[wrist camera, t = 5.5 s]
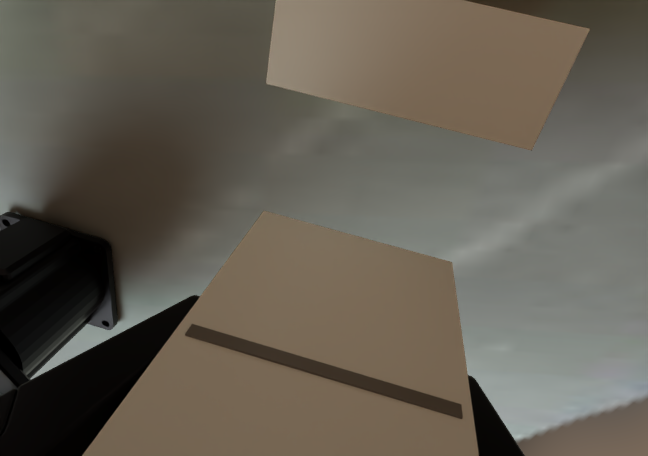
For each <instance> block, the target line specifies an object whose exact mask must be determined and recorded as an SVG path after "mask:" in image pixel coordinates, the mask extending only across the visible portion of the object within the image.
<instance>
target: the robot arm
mask: <svg viewBox="0 0 648 456" xmlns="http://www.w3.org/2000/svg"><path fill="white" fill-rule="evenodd" d="M0 230H1V231H0V456H82V455H83V454H84V452H85V451H86V450H87V448H88V447H89V446H90V444H91V443H92V442H93V440H94V439H95V438H96V436H97V435H98V434H99V432H100V431H101V430H102V428H103V427H104V425H105V424H106V423H107V421H108V420H109V419H110V417H111V416H112V415H113V413H114V412H115V411H116V409H117V408H118V407H119V405H120V404H121V403H122V401H123V400H124V399H125V397H126V396H127V394H128V393H129V392H130V390H131V389H132V388H133V386H134V385H135V384H136V382H137V381H138V380H139V378H140V377H141V376H142V374H143V373H144V372H145V370H146V369H147V368H148V366H149V365H150V363H151V362H152V361H153V359H154V358H155V357H156V355H157V354H158V353H159V351H160V350H161V349H162V347H163V346H164V345H165V343H166V342H167V341H168V339H169V338H170V337H171V335H172V334H173V332H174V331H175V330H176V328H177V327H178V326H179V324H180V323H181V322H182V320H183V319H184V318H185V316H186V315H187V314H188V312H189V311H190V310H191V308H192V307H193V306H194V304H195V303H196V302H197V300H198V299H199V297H200V296H197V295H194V296H191V297H189V298H187V299H185V300H183V301H181V302H179V303H177V304H175V305H173V306H171V307H169V308H168V309H166V310H164V311H162V312H160V313H158V314H156V315H154V316H152V317H150V318H148V319H146V320H145V321H143V322H141V323H139V324H137V325H135V326H133V327H131V328H129V329H127V330H125V331H124V332H122V333H120V334H118V335H116V336H114V337H112V338H110V339H108V340H106V341H104V342H102V343H101V344H99V345H97V346H95V347H93V348H91V349H89V350H87V351H85V352H83V353H81V354H80V355H78V356H76V357H74V358H72V359H70V360H68V361H66V362H64V363H62V364H60V365H58V366H57V367H55V368H53V369H51V370H49V371H47V372H45V373H43V374H41V375H39V376H37V377H36V378H34V379H32V380H30V378H31V377H32V376H33V375H34V374H35V373H36V372H37V371H38V370H40V369H41V368H42V367H43V366H44V365H45V364H46V363H47V362H48V361H49V360H50V359H51V358H52V357H53V356H54V355H55V354H56V353H57V352H58V351H59V350H60V349H61V348H62V347H63V346H64V345H65V344H66V343H68V342H69V341H70V340H71V339H72V338H73V337H74V336H75V335H76V334H77V333H78V332H79V331H80V330H81V329H82V328H83V327H84V326H85V325H86V324H90V325H94V326H97V327H100V328H103V329H107V330H111V329H112V328H113V327H114V326H115V325H116V324H117V311H116V299H115V287H114V275H113V264H112V252H111V246H110V245H109V243H108V242H107V241H106V240H103V239H101V238H97V237H94V236H91V235H87V234H84V233H80V232H77V231H73V230H70V229H67V228H63V227H60V226H56V225H53V224H49V223H46V222H43V221H39V220H36V219H32V218H29V217H25V216H22V215H19V214H15V213H12V212H6V213H4V214H2V215H0ZM100 248H101V249H100ZM468 381H469V388H470V395H471V403H472V410H473V417H474V424H475V431H476V438H477V445H478V453H479V456H525V455H524V454H523V452H522V451H521V449H520V448H519V446H518V445H517V443H516V441H515V440H514V438H513V437H512V435H511V434H510V432H509V431H508V429H507V428H506V426H505V424H504V423H503V421H502V420H501V418H500V417H499V415H498V414H497V412H496V411H495V409H494V407H493V406H492V404H491V403H490V401H489V400H488V398H487V397H486V395H485V394H484V392H483V391H482V389H481V387H480V386H479V384H478V383H477V381H476V380H475V379H474V378H473V377H472V376H469V375H468Z"/></svg>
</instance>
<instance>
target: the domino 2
mask: <svg viewBox="0 0 648 456" xmlns="http://www.w3.org/2000/svg"><path fill="white" fill-rule="evenodd" d="M82 456H479V453H478V445H477V438H476V431H475V424H474V417H473V410H472V403H471V395H470V388H469V381H468V374H467V367H466V360H465V352H464V345H463V338H462V331H461V324H460V317H459V309H458V302H457V295H456V288H455V281H454V274H453V266H452V262H449V261H446V260H442V259H438V258H435V257H431V256H427V255H424V254H420V253H416V252H413V251H409V250H406V249H402V248H398V247H395V246H391V245H387V244H384V243H380V242H376V241H373V240H369V239H365V238H362V237H358V236H354V235H351V234H347V233H343V232H340V231H336V230H333V229H329V228H325V227H322V226H318V225H314V224H311V223H307V222H303V221H300V220H296V219H292V218H289V217H285V216H281V215H278V214H274V213H270V212H267V211H263V213H262V214H261V215H260V217H259V218H258V219H257V221H256V222H255V223H254V225H253V226H252V227H251V229H250V230H249V231H248V233H247V234H246V235H245V237H244V238H243V240H242V241H241V242H240V244H239V245H238V246H237V248H236V249H235V250H234V252H233V253H232V254H231V256H230V257H229V258H228V260H227V261H226V262H225V264H224V265H223V266H222V268H221V269H220V271H219V272H218V273H217V275H216V276H215V277H214V279H213V280H212V281H211V283H210V284H209V285H208V287H207V288H206V289H205V291H204V292H203V293H202V295H201V296H200V297H199V299H198V300H197V302H196V303H195V304H194V306H193V307H192V308H191V310H190V311H189V312H188V314H187V315H186V316H185V318H184V319H183V320H182V322H181V323H180V324H179V326H178V327H177V328H176V330H175V331H174V332H173V334H172V335H171V337H170V338H169V339H168V341H167V342H166V343H165V345H164V346H163V347H162V349H161V350H160V351H159V353H158V354H157V355H156V357H155V358H154V359H153V361H152V362H151V363H150V365H149V366H148V368H147V369H146V370H145V372H144V373H143V374H142V376H141V377H140V378H139V380H138V381H137V382H136V384H135V385H134V386H133V388H132V389H131V390H130V392H129V393H128V394H127V396H126V397H125V399H124V400H123V401H122V403H121V404H120V405H119V407H118V408H117V409H116V411H115V412H114V413H113V415H112V416H111V417H110V419H109V420H108V421H107V423H106V424H105V425H104V427H103V428H102V430H101V431H100V432H99V434H98V435H97V436H96V438H95V439H94V440H93V442H92V443H91V444H90V446H89V447H88V448H87V450H86V451H85V452H84V454H83V455H82Z"/></svg>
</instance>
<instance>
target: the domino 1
mask: <svg viewBox="0 0 648 456" xmlns="http://www.w3.org/2000/svg"><path fill="white" fill-rule="evenodd" d="M589 30H590V29H588V28H584V27H579V26H575V25H570V24H566V23H562V22H557V21H553V20H548V19H544V18H540V17H535V16H531V15H526V14H522V13H518V12H513V11H509V10H504V9H500V8H496V7H491V6H487V5H482V4H478V3H474V2H469V1H465V0H276V4H275V12H274V20H273V29H272V37H271V46H270V54H269V62H268V71H267V79H266V84H269V85H273V86H277V87H281V88H285V89H289V90H293V91H297V92H301V93H305V94H309V95H313V96H317V97H321V98H325V99H329V100H333V101H337V102H341V103H345V104H349V105H353V106H357V107H361V108H365V109H369V110H373V111H377V112H381V113H385V114H389V115H393V116H397V117H401V118H405V119H409V120H412V121H416V122H420V123H424V124H428V125H432V126H436V127H440V128H444V129H448V130H452V131H456V132H460V133H464V134H468V135H472V136H476V137H480V138H484V139H488V140H492V141H496V142H500V143H504V144H508V145H512V146H516V147H520V148H524V149H528V150H532V149H533V147H534V145H535V142H536V140H537V138H538V136H539V134H540V132H541V130H542V128H543V126H544V124H545V122H546V120H547V117H548V115H549V113H550V111H551V109H552V107H553V105H554V103H555V101H556V99H557V97H558V95H559V93H560V90H561V88H562V86H563V84H564V82H565V80H566V78H567V76H568V74H569V72H570V70H571V68H572V65H573V63H574V61H575V59H576V57H577V55H578V53H579V51H580V49H581V47H582V45H583V43H584V41H585V38H586V36H587V34H588V32H589Z"/></svg>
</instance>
